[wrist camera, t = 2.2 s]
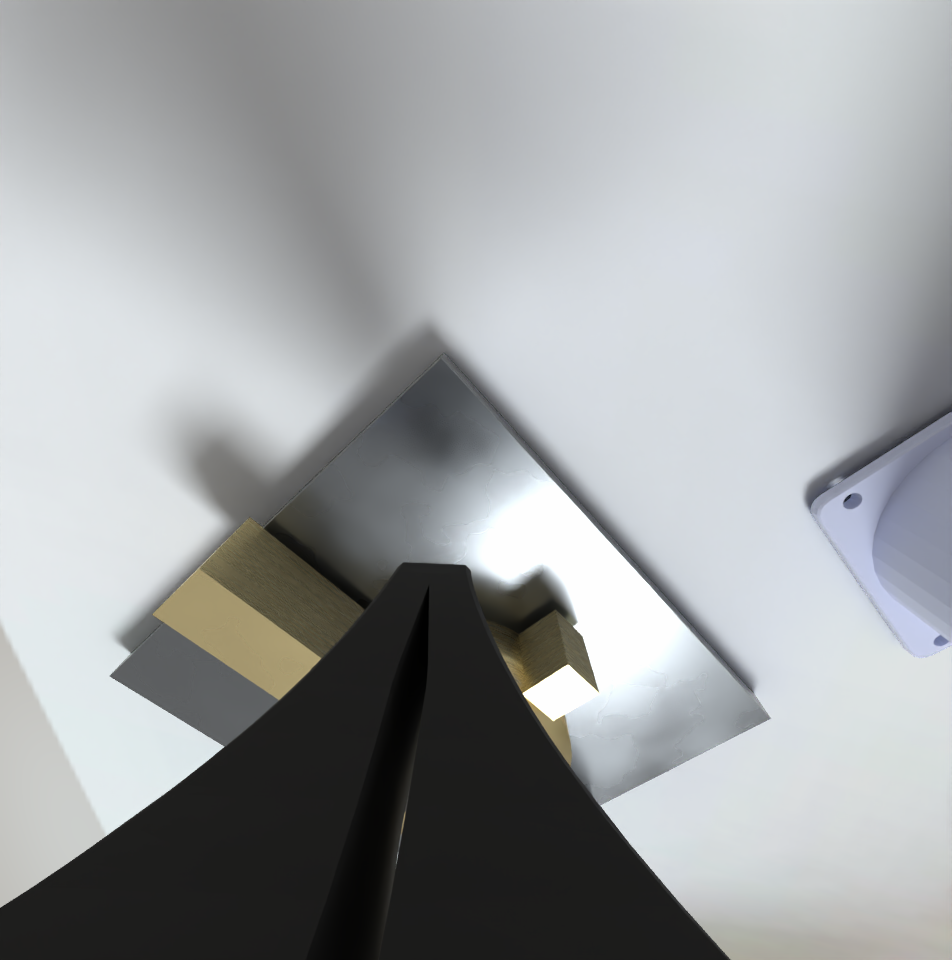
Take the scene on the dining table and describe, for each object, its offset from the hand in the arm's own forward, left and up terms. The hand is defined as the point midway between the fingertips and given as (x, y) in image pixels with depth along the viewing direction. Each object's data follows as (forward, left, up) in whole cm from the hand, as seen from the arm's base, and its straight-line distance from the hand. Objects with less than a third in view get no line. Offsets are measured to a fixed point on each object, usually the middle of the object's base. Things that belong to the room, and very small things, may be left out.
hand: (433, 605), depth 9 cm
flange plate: (+5, +5, -5) cm, 9 cm away
